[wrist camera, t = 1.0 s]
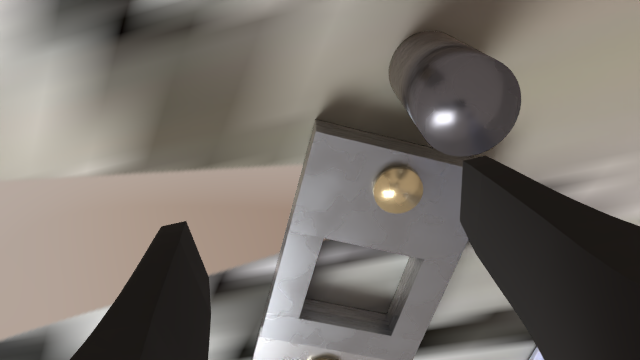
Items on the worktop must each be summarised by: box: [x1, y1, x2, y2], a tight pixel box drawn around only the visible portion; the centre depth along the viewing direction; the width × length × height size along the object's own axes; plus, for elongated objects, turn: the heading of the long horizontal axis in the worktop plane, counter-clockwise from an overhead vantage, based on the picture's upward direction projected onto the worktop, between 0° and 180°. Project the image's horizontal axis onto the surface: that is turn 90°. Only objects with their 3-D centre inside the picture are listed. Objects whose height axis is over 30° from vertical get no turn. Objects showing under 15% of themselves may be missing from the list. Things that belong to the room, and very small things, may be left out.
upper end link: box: [260, 119, 474, 360], centre depth 27 cm, size 10×14×2 cm
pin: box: [389, 31, 521, 157], centre depth 21 cm, size 4×4×7 cm
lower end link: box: [251, 187, 416, 360], centre depth 30 cm, size 10×16×2 cm, turn 165°
